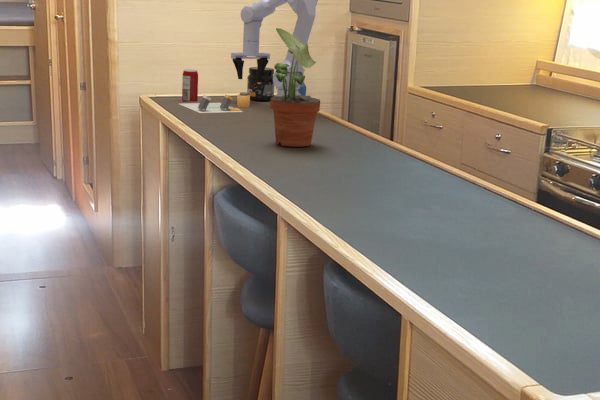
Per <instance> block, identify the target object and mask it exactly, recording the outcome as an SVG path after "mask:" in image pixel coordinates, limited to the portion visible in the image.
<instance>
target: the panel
mask: <svg viewBox="0 0 600 400" xmlns="http://www.w3.org/2000/svg"><path fill="white" fill-rule="evenodd" d="M221 103H222V102H209V104H208V106H207V108H206V111H201V110H199V109H198V106H199V104H200V102H194V103H193V102H192V103H191V102H184V103H179V106H182V107H185V108H187V109H190V110H191V111H194V112H196V113H199V114H216V113H217V114H218V113H219V114H220V113H244V111H243V110H242V109H240V108H239V107H232V106H231V105H229V107H228V110H226V111H224V110H222V109H220V105H221Z"/></svg>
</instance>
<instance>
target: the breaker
mask: <svg viewBox="0 0 600 400" xmlns="http://www.w3.org/2000/svg"><path fill="white" fill-rule="evenodd" d="M211 100H212V98H211V97H210V96H208V95H205V94H203V96H202V98H201V100H200V102H199V103H200V104H199V106H198V109H199V110H201V111H206V108H207V106H208V104H209V103H211V102H210V101H211Z"/></svg>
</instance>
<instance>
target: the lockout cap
mask: <svg viewBox="0 0 600 400" xmlns="http://www.w3.org/2000/svg"><path fill="white" fill-rule="evenodd" d="M236 97H237V99H236V108H250V104H251V100H250V95H248V93H247V92H243V91H242V92H239V94H237V96H236Z"/></svg>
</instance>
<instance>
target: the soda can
mask: <svg viewBox="0 0 600 400" xmlns="http://www.w3.org/2000/svg"><path fill="white" fill-rule="evenodd" d="M181 85H182V87H181V88H182V90H181V91H182V92H181V93H182V95H181V98H182V99H181V101H182V102H184V103H191V102H192V103H193V102H194V103H198V94H199V93H198V91H199V72H198V69H183V72H182V84H181Z"/></svg>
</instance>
